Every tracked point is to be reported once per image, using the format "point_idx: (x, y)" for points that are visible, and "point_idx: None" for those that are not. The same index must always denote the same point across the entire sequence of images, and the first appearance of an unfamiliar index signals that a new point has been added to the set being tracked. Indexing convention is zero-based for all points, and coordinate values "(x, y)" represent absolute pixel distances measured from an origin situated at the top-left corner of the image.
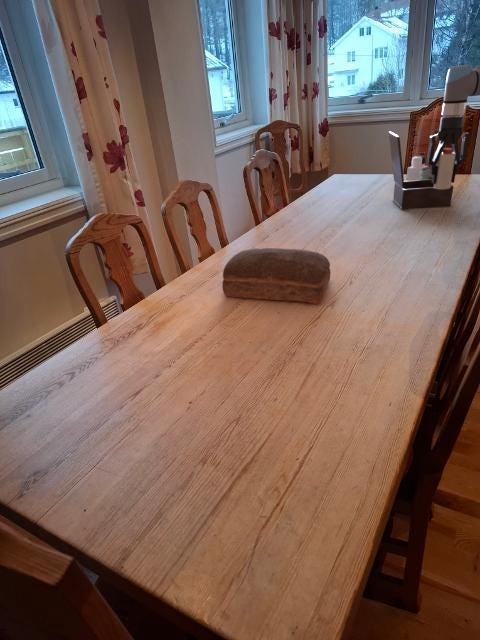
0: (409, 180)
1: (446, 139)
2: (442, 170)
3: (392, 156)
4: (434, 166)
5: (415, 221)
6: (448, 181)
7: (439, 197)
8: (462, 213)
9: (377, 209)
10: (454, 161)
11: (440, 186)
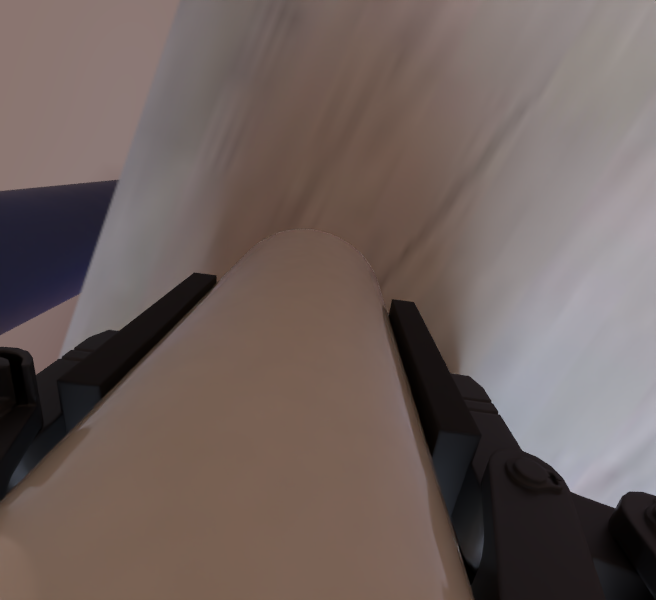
0: None
1: None
2: (369, 326)
3: None
4: (488, 457)
5: (506, 159)
6: (272, 247)
7: None
8: (181, 211)
9: (564, 427)
10: (76, 425)
11: (353, 253)
